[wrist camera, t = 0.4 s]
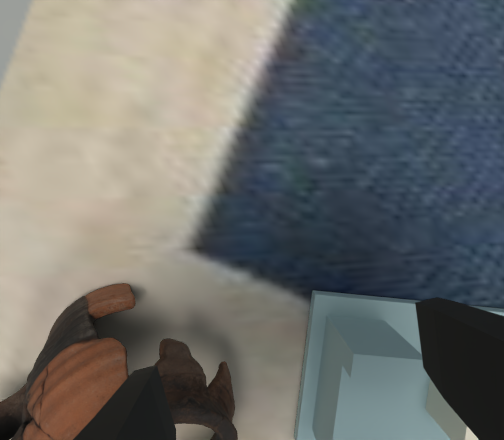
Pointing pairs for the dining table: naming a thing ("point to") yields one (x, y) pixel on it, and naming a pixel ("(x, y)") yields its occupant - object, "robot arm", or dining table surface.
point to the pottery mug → (107, 378)
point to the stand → (370, 374)
